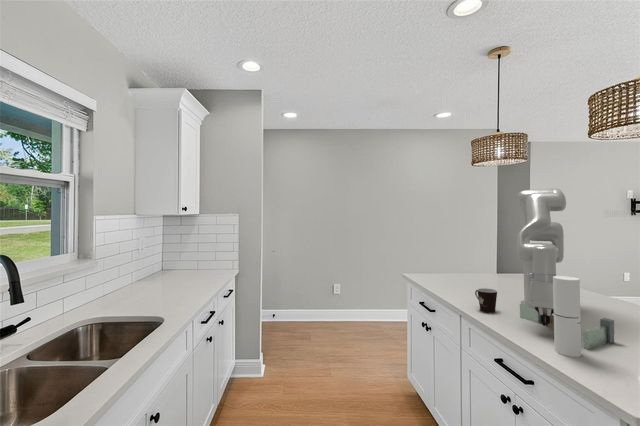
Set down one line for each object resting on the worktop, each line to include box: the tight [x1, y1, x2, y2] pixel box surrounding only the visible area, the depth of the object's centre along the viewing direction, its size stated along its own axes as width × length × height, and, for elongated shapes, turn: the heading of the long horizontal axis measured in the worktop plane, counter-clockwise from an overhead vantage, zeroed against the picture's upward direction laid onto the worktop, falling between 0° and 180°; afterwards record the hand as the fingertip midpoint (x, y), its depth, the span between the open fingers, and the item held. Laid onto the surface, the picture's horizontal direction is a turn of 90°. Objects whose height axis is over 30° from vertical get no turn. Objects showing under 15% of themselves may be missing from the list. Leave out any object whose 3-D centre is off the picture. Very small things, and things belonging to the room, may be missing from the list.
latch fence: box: [583, 317, 615, 350], centre depth 114 cm, size 15×3×8 cm, turn 115°
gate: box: [543, 310, 554, 332], centre depth 127 cm, size 17×2×9 cm, turn 161°
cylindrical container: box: [553, 275, 582, 358], centre depth 109 cm, size 7×7×25 cm
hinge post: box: [519, 303, 547, 325], centre depth 141 cm, size 3×11×8 cm, turn 24°
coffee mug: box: [474, 287, 498, 314], centre depth 157 cm, size 12×9×10 cm
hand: (545, 324), depth 125 cm, fingers closed
